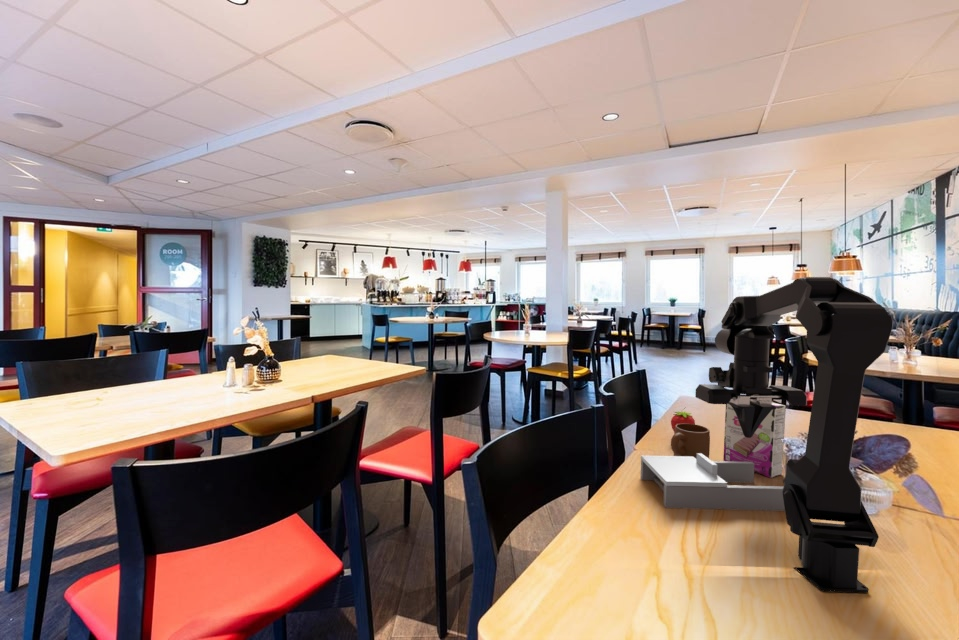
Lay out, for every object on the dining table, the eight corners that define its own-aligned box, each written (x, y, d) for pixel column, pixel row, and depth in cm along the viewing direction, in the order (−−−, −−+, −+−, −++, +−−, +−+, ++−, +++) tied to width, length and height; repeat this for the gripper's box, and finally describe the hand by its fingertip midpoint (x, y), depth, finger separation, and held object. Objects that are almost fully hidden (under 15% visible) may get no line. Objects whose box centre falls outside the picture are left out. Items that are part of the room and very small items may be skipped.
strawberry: (698, 441, 115) (700, 406, 115) (687, 447, 111) (688, 410, 110) (677, 435, 120) (678, 402, 119) (665, 441, 115) (666, 406, 115)
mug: (688, 480, 90) (689, 438, 90) (656, 468, 96) (657, 429, 96) (714, 468, 97) (716, 429, 96) (683, 457, 103) (685, 421, 103)
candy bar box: (722, 461, 101) (724, 396, 100) (734, 458, 103) (736, 394, 102) (771, 479, 91) (774, 407, 90) (783, 475, 93) (786, 404, 92)
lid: (727, 487, 76) (727, 472, 75) (666, 485, 76) (666, 470, 76) (692, 460, 88) (693, 447, 88) (640, 459, 89) (641, 446, 88)
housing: (794, 515, 75) (795, 489, 75) (665, 512, 76) (666, 486, 76) (750, 484, 88) (751, 461, 88) (640, 481, 89) (641, 459, 89)
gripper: (770, 355, 88) (767, 425, 89) (684, 353, 89) (681, 424, 90) (811, 362, 77) (807, 443, 78) (711, 361, 78) (708, 441, 79)
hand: (747, 437), depth 81 cm, fingers closed
